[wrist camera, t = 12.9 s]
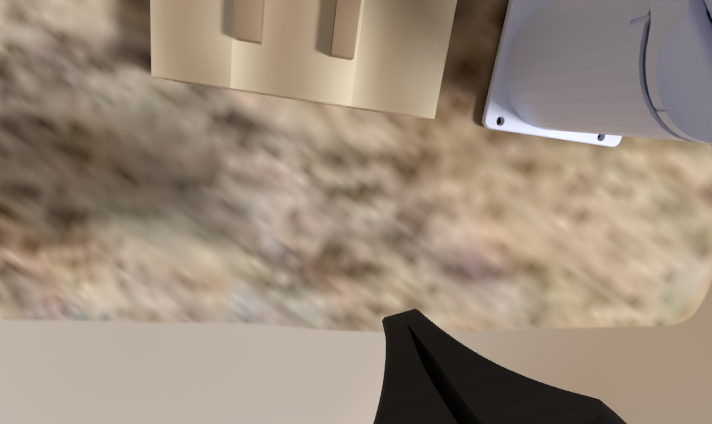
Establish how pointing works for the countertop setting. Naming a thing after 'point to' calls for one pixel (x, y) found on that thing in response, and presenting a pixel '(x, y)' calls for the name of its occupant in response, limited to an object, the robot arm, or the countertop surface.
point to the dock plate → (309, 49)
